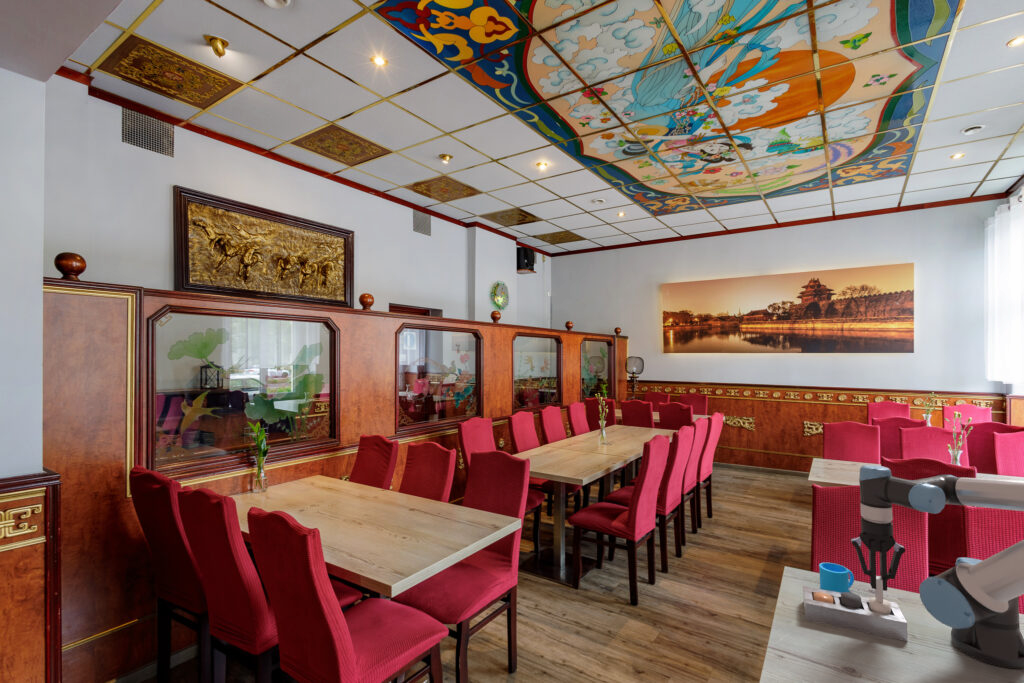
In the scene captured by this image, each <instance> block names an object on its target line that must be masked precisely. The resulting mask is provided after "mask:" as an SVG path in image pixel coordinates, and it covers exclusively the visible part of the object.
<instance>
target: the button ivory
mask: <svg viewBox="0 0 1024 683" xmlns="http://www.w3.org/2000/svg"><path fill="white" fill-rule="evenodd" d="M868 598H869V608H870V611H873V612H878V613H884V614H889V615H891V604H890V602H891V601H889V600H886V599H884V598H883V603H881V602H877V601H876V598H875V596H873V597H868Z"/></svg>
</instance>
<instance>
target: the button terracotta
mask: <svg viewBox="0 0 1024 683" xmlns="http://www.w3.org/2000/svg"><path fill="white" fill-rule="evenodd" d="M814 600H816V601H821V602H826V603H831V604H833V597H832V596H831V595H829V594H826V593H822V592H815V593H814Z"/></svg>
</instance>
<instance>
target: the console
mask: <svg viewBox="0 0 1024 683" xmlns="http://www.w3.org/2000/svg"><path fill="white" fill-rule="evenodd" d="M802 592H803V593H802V594H803V596H802V597H803V599H802V600H803V607H804V613H805V614H804V615H805V620H806V621H810V622H815V623H819V624H824V625H828V626H832V627H833V626H834V627H839V628H843V629H848V630H851V631H858V632H863V633H866V634H867V633H868V634H871V635H872V634H873V635H876V636H880V637H886V638H891V639H895V640H900V641H905V642H909V640H908V622H907V620H906V618H905V616H904V614H903V613H902V611H901V609H900V606H899V605H898V603H897V602H894V601H889V602H890V604H891V615H889V614H884V613H878V612H873V611H870V608H869V598H870V597H864V596H861V595H859V596H860V597H861V609H858V608H852V607H847V606H842V605H841V593H839V592H833V591H828V590H822V589H820V588H816V587H811V586H805V585H803V586H802ZM815 592H822V593H826V594H829V595H831V596H832V597H833V604H831V603H826V602H821V601H816V600H814V593H815Z"/></svg>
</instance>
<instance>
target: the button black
mask: <svg viewBox="0 0 1024 683" xmlns="http://www.w3.org/2000/svg"><path fill="white" fill-rule="evenodd" d="M860 596H861V595H858V594H856V593H853V592H850V591H849V592H842V593H841V605H842V606H847V607H852V608H858V609H861V597H862V596H861V597H860Z"/></svg>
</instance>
